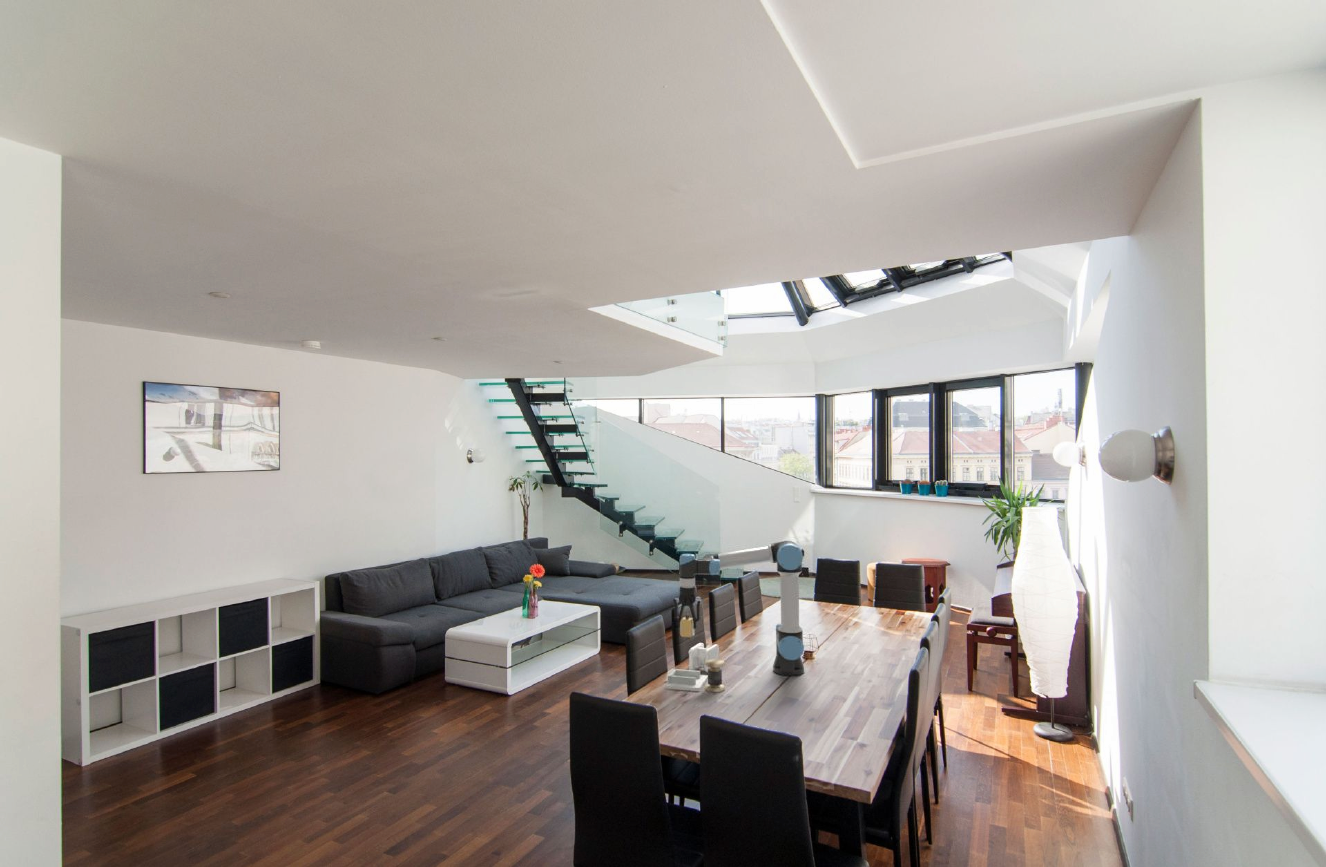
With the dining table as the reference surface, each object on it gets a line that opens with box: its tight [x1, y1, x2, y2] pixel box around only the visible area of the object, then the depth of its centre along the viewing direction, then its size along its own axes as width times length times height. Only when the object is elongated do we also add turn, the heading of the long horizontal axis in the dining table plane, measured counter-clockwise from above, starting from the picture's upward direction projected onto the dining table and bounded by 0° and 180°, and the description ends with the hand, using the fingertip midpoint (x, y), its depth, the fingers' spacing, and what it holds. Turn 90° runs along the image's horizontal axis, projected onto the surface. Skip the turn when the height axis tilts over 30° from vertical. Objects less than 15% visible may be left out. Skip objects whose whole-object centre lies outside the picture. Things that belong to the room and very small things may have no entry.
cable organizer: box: [688, 642, 720, 674], centre depth 334 cm, size 15×11×12 cm
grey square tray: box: [665, 668, 708, 692], centre depth 314 cm, size 16×18×4 cm
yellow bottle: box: [680, 613, 693, 638], centre depth 323 cm, size 5×5×10 cm
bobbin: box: [704, 659, 726, 693], centre depth 306 cm, size 9×9×12 cm
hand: (687, 634), depth 323 cm, fingers closed on yellow bottle, 5 cm apart
